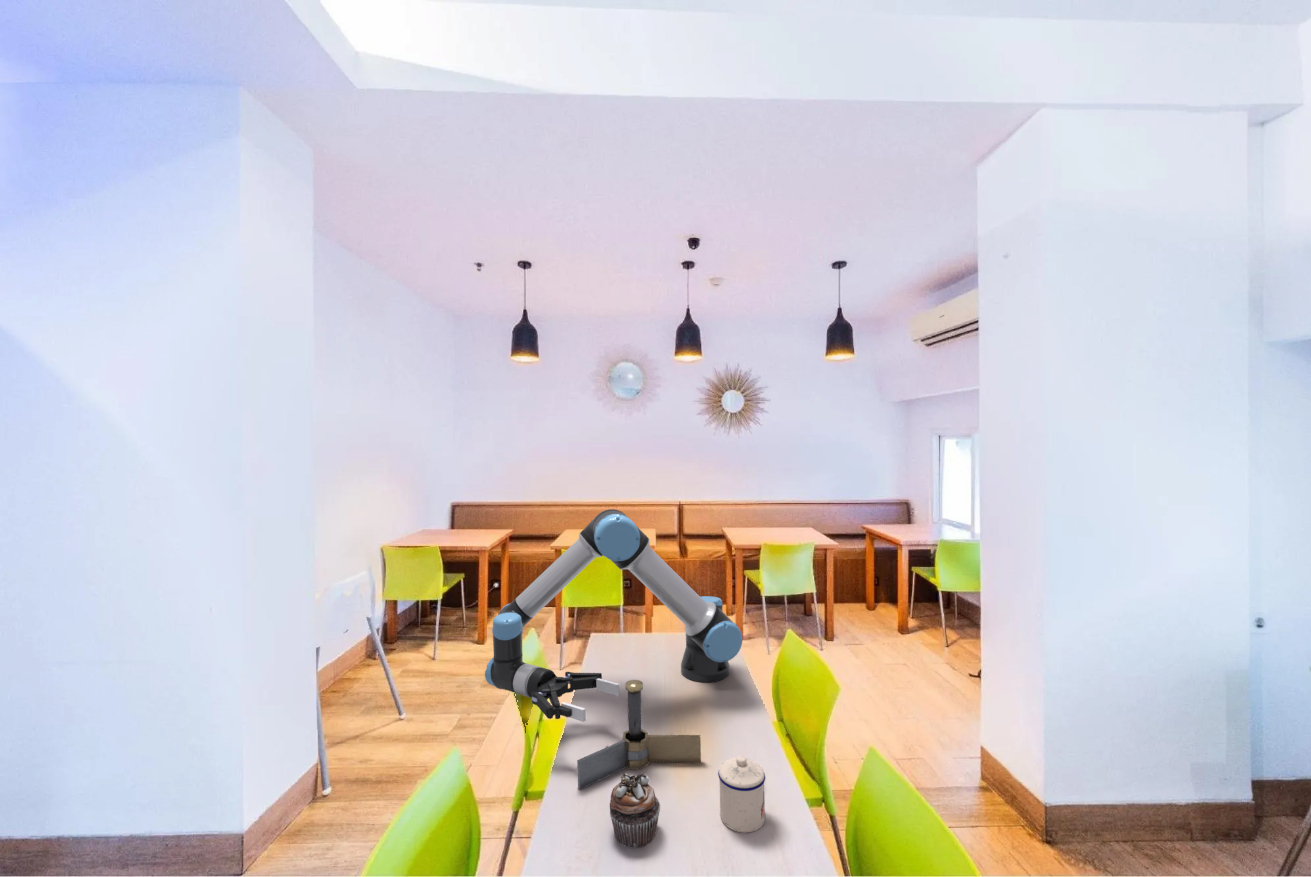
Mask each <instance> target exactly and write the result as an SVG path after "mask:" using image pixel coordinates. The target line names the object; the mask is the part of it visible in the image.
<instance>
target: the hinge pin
mask: <svg viewBox="0 0 1311 877" xmlns="http://www.w3.org/2000/svg"><path fill="white" fill-rule="evenodd" d="M624 685H625V687H624V688H625V690H626V692H627V718H628V719H627V720H628V723H627V724H628V726H627V727H628V730H629V741H630V742H639V741H641V740H642V728H643V727H642V726H643V725H642V690H643V688H644V682H643V681H641V679H640V680H639V679H629V680H627V681H626V682H625V684H624Z"/></svg>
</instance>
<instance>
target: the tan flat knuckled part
mask: <svg viewBox="0 0 1311 877" xmlns="http://www.w3.org/2000/svg"><path fill="white" fill-rule="evenodd" d="M624 739H625V741H626V750H628V751H635V752H640V751H642V750H643V749H645V748H647V747H648V756H647V757H645V758H643V759H641V760H639V761H637V760H628V759H626V762H627V767H626V769H630V770H641V769H643V768H645V767H646V766H648V765H649V763H678V764H679V763H681V764H682V763H687V764H688V763H690V764H691V763H696V764H697V763H699V764H700V763H702V751H701V748H702V747H701V734H649V732H648V731H646V730H644V729H642V739H643V740H641V741H639V742H630V741H629V729H628V730H626V731H624V732H623V733H622V739H621V741H622V740H624Z"/></svg>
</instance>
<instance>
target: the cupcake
mask: <svg viewBox="0 0 1311 877" xmlns="http://www.w3.org/2000/svg"><path fill="white" fill-rule="evenodd" d="M660 811H661V804H660V801H659V799H658V798H657V796H656V793H655V789H654V788H653V786H652V785H651V784H650V778H649V776H647V775H646V774H645V773H643V772H642V773H640V774H638V775H634V774H633V775H631V776H630V775H629V774H627V773H626V772H625V771H624V772H623V773H622V774H621V776H620V782H618V783H617V784H616V785H615V786H614V787H613V788H612V790H611V794H610V802H609V815H610V820H611V824H612V827H613V832H614V837H615V838H616V841H617V842H618V843H620V845H622V846H624V847H627V848H633V849H637V848H638V849H640V848H641V847H642V846H643V847H645V846H647V845H649V844H650V843H651V842H653V841H652V840H654V838H656V834H657V828H658V822H659V817H660Z"/></svg>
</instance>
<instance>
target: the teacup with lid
mask: <svg viewBox="0 0 1311 877" xmlns="http://www.w3.org/2000/svg"><path fill="white" fill-rule="evenodd" d="M717 776H718V778H719V816H720V820H722V823H723V824H724V825H725V826H726V827H728V828H729V829H730V830H733V831H734V832H739V833H752V832H755V831H756V832H757V830H759V829H760V828H762V826H763V825H764V823H765V819H766V813H765V812H766V808H765V801H766V800H765V782H766V774H765V770H764V768H763V767H762V766H761V764H759V763H758V762H756V761H754V760H752V759H749V758H747V757H745V756H743V755H738V756H737V757H732V758H728V759H727V760H725V761H723V762H722V763H721V764H720V766H719V768H718V772H717Z"/></svg>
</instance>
